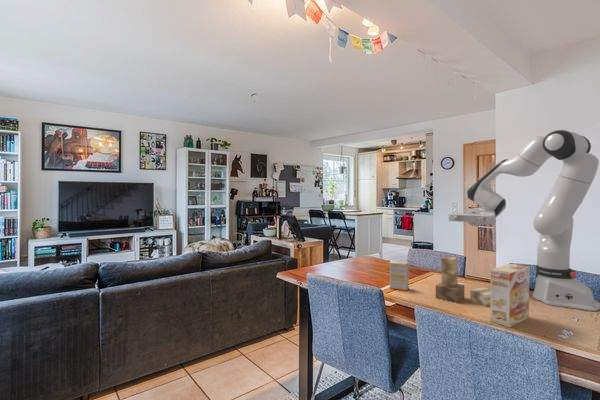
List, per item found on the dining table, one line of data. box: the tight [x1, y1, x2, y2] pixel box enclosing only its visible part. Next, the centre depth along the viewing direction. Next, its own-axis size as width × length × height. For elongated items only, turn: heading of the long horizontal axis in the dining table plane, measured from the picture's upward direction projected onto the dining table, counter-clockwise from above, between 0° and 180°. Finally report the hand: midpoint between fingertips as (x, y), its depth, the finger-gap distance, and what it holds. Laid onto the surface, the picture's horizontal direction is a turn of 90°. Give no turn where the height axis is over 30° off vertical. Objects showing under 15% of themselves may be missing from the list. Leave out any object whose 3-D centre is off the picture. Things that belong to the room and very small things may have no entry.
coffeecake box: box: [489, 263, 530, 328], centre depth 121 cm, size 15×7×20 cm, turn 123°
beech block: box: [469, 287, 491, 307], centre depth 139 cm, size 8×8×5 cm
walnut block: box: [435, 281, 465, 304], centre depth 145 cm, size 9×9×6 cm
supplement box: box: [388, 260, 410, 292], centre depth 160 cm, size 8×5×13 cm, turn 58°
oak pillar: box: [440, 256, 459, 287], centre depth 145 cm, size 5×5×12 cm
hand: (466, 219), depth 153 cm, fingers open, 8 cm apart
